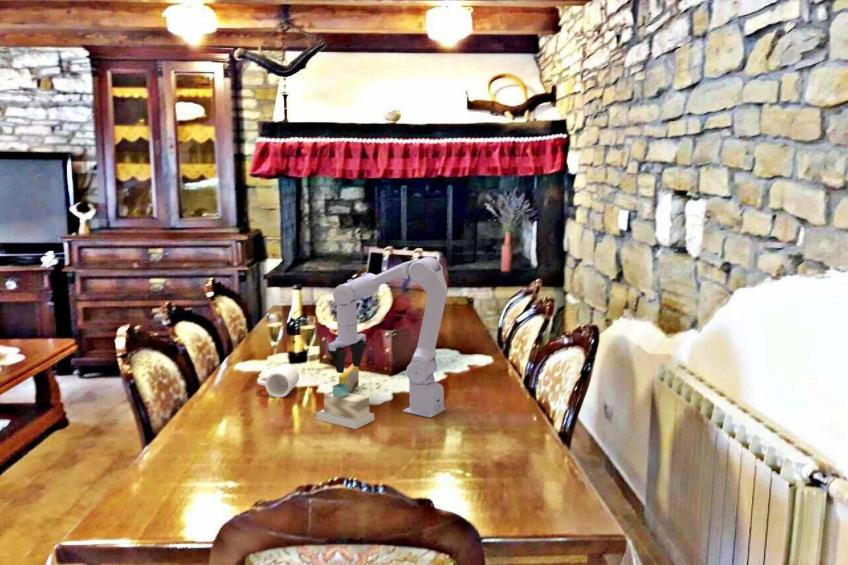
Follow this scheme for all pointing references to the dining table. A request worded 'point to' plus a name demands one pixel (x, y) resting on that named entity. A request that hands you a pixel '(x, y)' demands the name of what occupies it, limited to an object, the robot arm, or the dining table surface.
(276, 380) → the mug
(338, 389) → the matte teal cube
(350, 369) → the candy box
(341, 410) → the thick cream slab
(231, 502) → the dining table surface
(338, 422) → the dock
